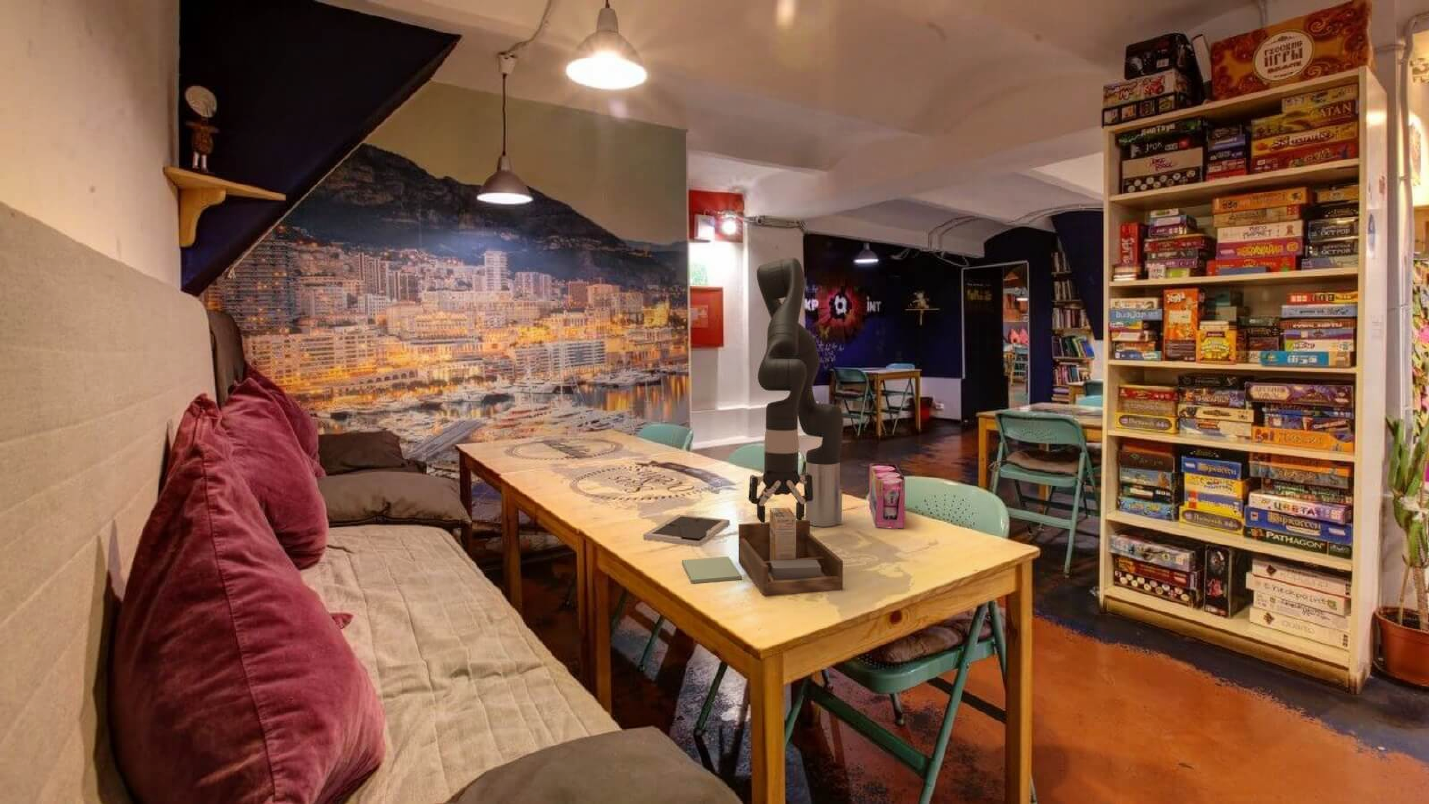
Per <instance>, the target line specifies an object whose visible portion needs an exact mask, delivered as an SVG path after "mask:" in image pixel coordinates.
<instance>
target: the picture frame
mask: <svg viewBox="0 0 1429 804" xmlns="http://www.w3.org/2000/svg"><path fill="white" fill-rule="evenodd" d="M730 521H731V520H730V519H725V518H715V517H705V516H697V515H687V514H679V513H678V514H676V515H675V516H673V517H671V518H670V519H667V520H666V521H664V522H661V524H659V525H657V526H655V527H654V528H652V529H650V530H648V531H646V532H645V533H644V534H643V535H642V536H643V539H648V540H647V541H651V540H655V541H654V542H659V541H663V542H662V543H666V542H668V544H674V543H675V544H676V545H682V544H687V545H686V546H690V545H694V546H693V547H698V546H699V547H701V546H702V545H703V544H705V543H707V542H708V541H709V540H711V539H713V537H715V536H716V535H717V534H719V533H720V532H722V531H723V530H725V529H726V528H727V527H728V526H730V523H731V522H730ZM714 535H715V536H714ZM675 544H674V545H675ZM700 545H701V546H700Z"/></svg>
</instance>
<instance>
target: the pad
mask: <svg viewBox="0 0 1429 804" xmlns="http://www.w3.org/2000/svg"><path fill="white" fill-rule="evenodd" d="M681 564H683V565H682V566H684V567H683V569H684V568H685V569H684V571H685V570H686V571H685V572H687V573H686V575H687V574H688V575H687V576H689V577H688V579H689V578H690V579H689V580H691V581H690V583H691V584H700V583H701V582H702V583H701V584H703V582H704V583H713V582H714V583H715V582H716V583H717V582H725V581H739V580H742V579H743V575H742V574H741V572H740V571H739V569H738V568H737V567H736V566H735V565H736V564H734V562H733V561H732V560H731V558H730V556H718V557H705V558H693V559H682V560H681Z"/></svg>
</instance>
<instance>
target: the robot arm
mask: <svg viewBox="0 0 1429 804" xmlns="http://www.w3.org/2000/svg"><path fill="white" fill-rule="evenodd" d="M756 269H757V270H756V278H757V279H756V280H757V283H758V287H759V291H760V293H761V296H762V299H763V301H764V304H765V307H766V309H767V312H768V315H769V317H770V321H769V324H768V327H767V337H766V339H767V340H766V350H765V353H764V356H763V358H762V361H761V362H760V364H759V368H758V372H757V381H758V383H759V385H760V387H761V388H762V389H763V390H765V391H769V392H775V391H776V392H787V391H788V392H789V395H788V396H787V397H786V398H785V399H781V400H776V401H771V402H769V403H768V404H766V407H765V433H764V434H765V435H764V446H763V447H764V448H763V449H764V451H763V452H764V456H763V457H764V460H763V461H764V463H763V464H764V466H763V467H764V468H763V469H764V471H763V475H762V476H760V475H759V476H758V475H757V476H756V475H754V474H751V475H750V476H749V484H748V485H749V487H748V501H749V502H750V503H751V504H755V505H756V518H757V519H758V521H760V522H759V523H764V522H766V505H765V504H766V503H767V502H768V500H770V499H771V497H772V496H773V495H774V496H780V495H785V496H787V495H789V494H792V496H793V497H794V498H795V500H796V501H797V502H796V503H795V517H796V520H803V518H804V517H805V518H804V519H805V520H810V526H814V527H825V528H827V527H828V528H829V527H834V526H838V525H842V524H843V523H842V521H843V520H842V519H843V490H842V489H840V479H841V478H840V468H841V467H840V466H841V462H840V461H841V453H842V450H843V449H842V447H843V435H844V433H843V432H844V414H843V410H842V409H841V407H840V406H839V405H837V404H830V403H829V404H828V403H819V402H817V401H816V399H815V395H814V391H813V385H814V382H815V379H816V377H817V375H818V372H819V369H820V365H821V358H820V355H819V351H818V347H817V344H816V341H815V338H814V336H813V335H812V333H811V332H810V331H809V330H808V329H806V327H805V326H803V325H802V324H801V323H799V319H800V314H801V309H802V306H803V305H802V304H803V299H804V293H805V274H804V271H803V270H804V269H803V267H802V264H801V262H800V260H799V259H798V258H795V257H788V258H784V259H779V260H776V261H771V262H767V263H764V264H760V265H759V266H758V268H756ZM780 299H784V300H783V301H782V302H781V300H780ZM798 422H799V423H798ZM798 425H800V428H801V430H802V431H803V433H804V434H805V435H807V436H810V437H815V438H816V437H817V438H822V439H821V445H820V446H818V447H815V448H812V449H809V450H807V451H806V454H805V473H803V474H799V448H800V444H799V432H798V431H799V430H798V429H799V428H798V427H799V426H798ZM800 481H801V483H802V484H803V492H804V493H803V495H802V494H801V493H800V491H799V490H798V488H797V485H798V484H799V482H800ZM761 483H763V484H764V485H765V486H764V488H763V489H762V490H761V492H760V495H759V496H758V487H760V486H761Z"/></svg>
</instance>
